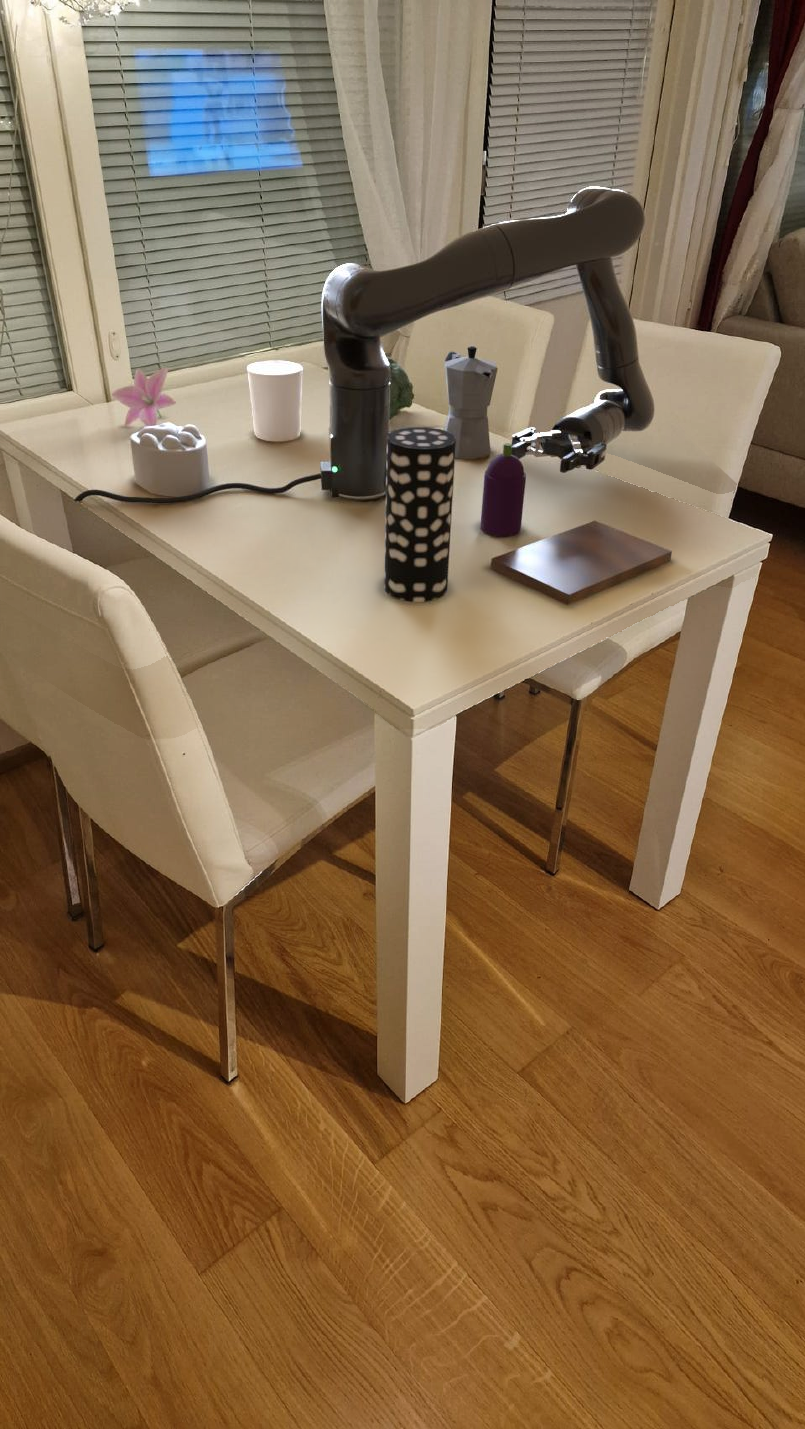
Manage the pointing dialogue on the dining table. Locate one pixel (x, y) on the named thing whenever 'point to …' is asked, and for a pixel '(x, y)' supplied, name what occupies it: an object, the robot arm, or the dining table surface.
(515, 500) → the eggplant
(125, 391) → the lily
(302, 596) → the dining table surface
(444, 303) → the robot arm
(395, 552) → the spotted tube
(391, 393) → the vegetable
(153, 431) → the lumpy-topped squat cylinder
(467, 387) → the coffeepot
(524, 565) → the cutting board
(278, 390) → the candle holder
